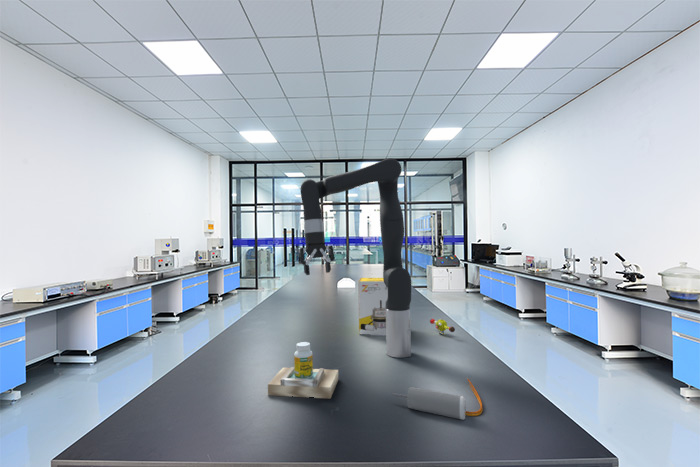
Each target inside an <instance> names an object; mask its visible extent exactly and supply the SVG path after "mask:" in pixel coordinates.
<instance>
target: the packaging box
mask: <svg viewBox="0 0 700 467" xmlns="http://www.w3.org/2000/svg"><path fill="white" fill-rule="evenodd" d="M357 284H358V334H372V335H371V336H386V301H387V298H388V287H387V286H386V285H385V283H384V280H383V277H360V278H359V279H358V283H357Z"/></svg>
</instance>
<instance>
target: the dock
mask: <svg viewBox="0 0 700 467" xmlns="http://www.w3.org/2000/svg"><path fill="white" fill-rule="evenodd" d="M338 382H339V369H328V368H327V369H325V368H323V367H320V368H313V376H312V377H311V378H310V379H296V378H295V370H294V366H291V367H282V368H281V369H280V370H279V371H278V372H277V373H276V374H275V376H274V377H273V378H272V379H271V380H270V381H269V382H268V383H267V395H268V396H278V397H292V396H293V397H296V398H309V397H314V398H313V399H329V400H330V399H331V398H332V396H333V394H334V393H335V392H334V391H335V390H336V386H337V384H338Z"/></svg>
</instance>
